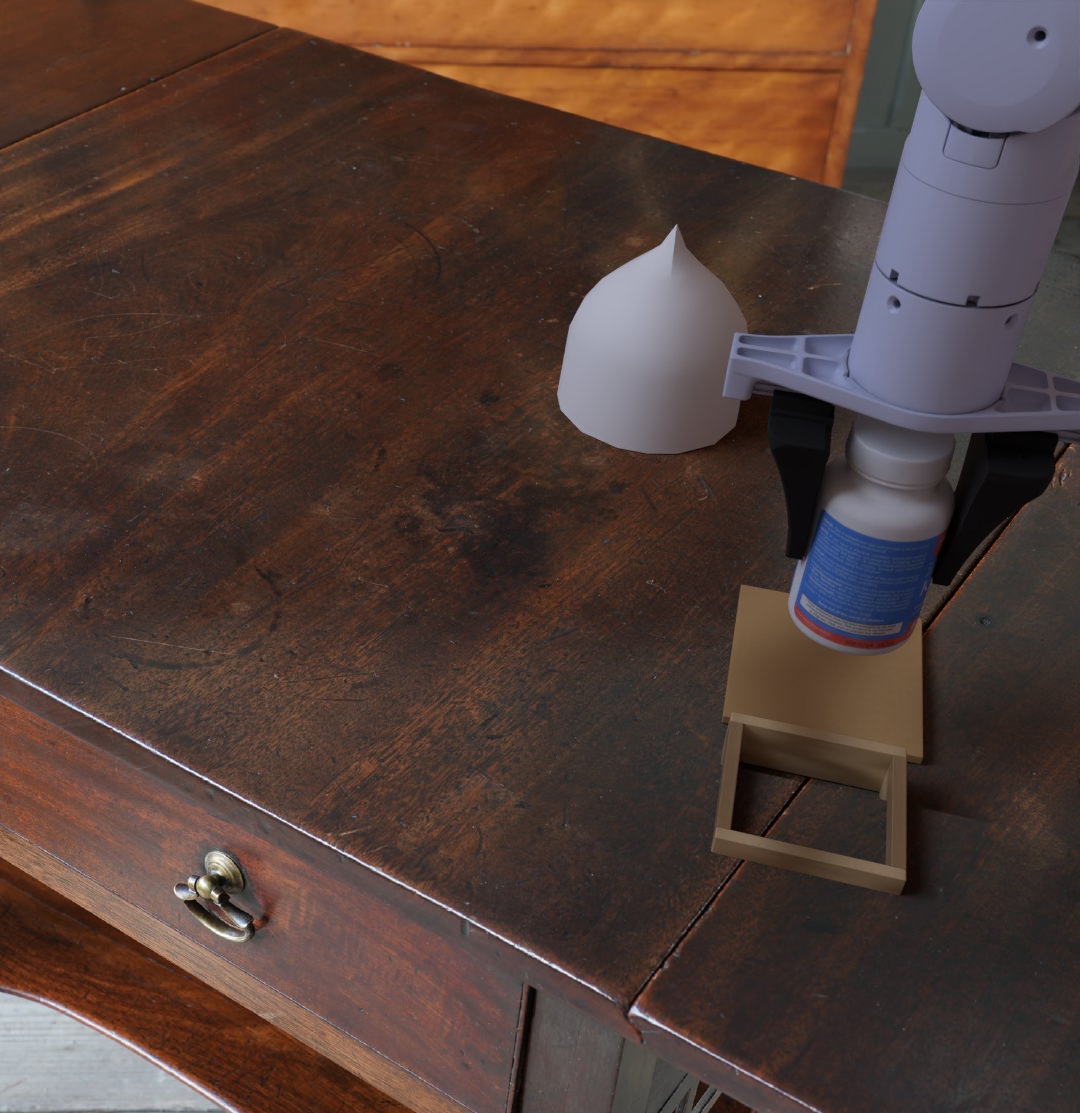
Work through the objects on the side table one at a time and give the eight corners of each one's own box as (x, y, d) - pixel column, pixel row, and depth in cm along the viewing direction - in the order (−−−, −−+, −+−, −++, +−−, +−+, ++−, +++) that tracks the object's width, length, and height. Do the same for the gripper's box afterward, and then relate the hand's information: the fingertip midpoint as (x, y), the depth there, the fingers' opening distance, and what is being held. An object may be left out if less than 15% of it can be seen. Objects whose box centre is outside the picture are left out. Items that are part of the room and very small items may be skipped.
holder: (893, 785, 66) (907, 747, 64) (891, 918, 60) (906, 880, 59) (722, 749, 68) (731, 710, 66) (704, 875, 62) (714, 836, 60)
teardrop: (647, 476, 84) (679, 290, 77) (520, 390, 91) (537, 212, 83) (777, 414, 89) (819, 234, 82) (647, 337, 96) (675, 165, 88)
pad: (919, 625, 74) (922, 618, 74) (920, 765, 67) (923, 757, 67) (739, 591, 76) (741, 583, 76) (721, 722, 69) (723, 715, 69)
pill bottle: (929, 661, 62) (996, 475, 56) (801, 659, 62) (854, 473, 56) (892, 578, 66) (951, 397, 60) (773, 577, 66) (820, 395, 60)
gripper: (1155, 248, 55) (1042, 532, 63) (760, 197, 58) (704, 474, 67) (1183, 341, 50) (1055, 637, 58) (747, 280, 53) (687, 569, 61)
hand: (867, 557), depth 62 cm, fingers closed on pill bottle, 5 cm apart
